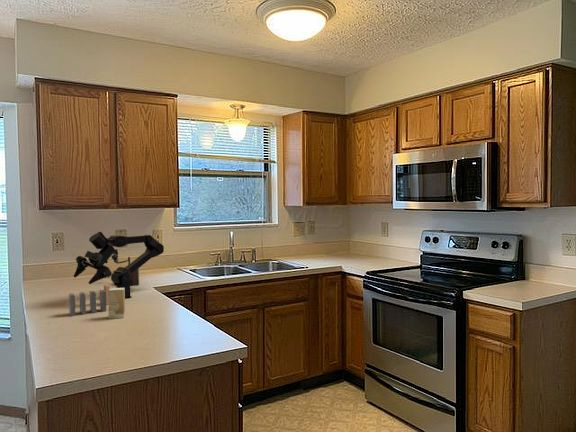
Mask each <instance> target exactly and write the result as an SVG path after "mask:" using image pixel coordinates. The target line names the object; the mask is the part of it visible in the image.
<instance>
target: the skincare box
mask: <svg viewBox="0 0 576 432" xmlns="http://www.w3.org/2000/svg"><path fill="white" fill-rule="evenodd" d="M125 299H126V298H125V288H116V287H113V288H111V287H110V289H109V305H108V319H120V318H121V319H122V318H125V316H126V314H125V312H126V308H125V306H126V305H125V302H126V300H125Z"/></svg>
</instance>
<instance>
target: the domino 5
mask: <svg viewBox="0 0 576 432" xmlns="http://www.w3.org/2000/svg"><path fill="white" fill-rule="evenodd" d="M110 288H111V286H110V285H109V284H104V285H103V290H105V291H106V306H109V289H110Z"/></svg>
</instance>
